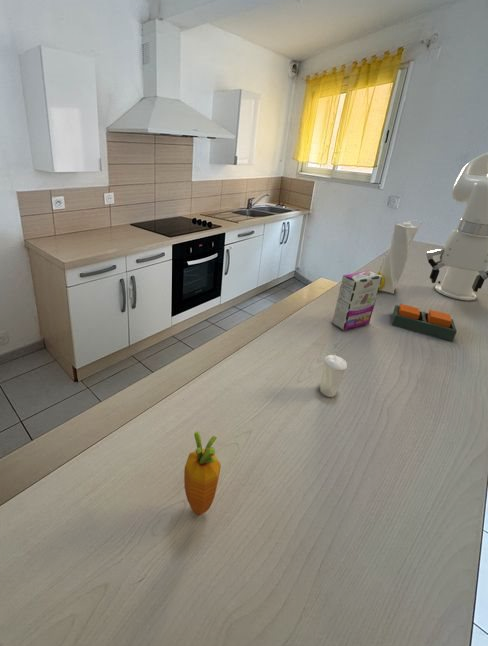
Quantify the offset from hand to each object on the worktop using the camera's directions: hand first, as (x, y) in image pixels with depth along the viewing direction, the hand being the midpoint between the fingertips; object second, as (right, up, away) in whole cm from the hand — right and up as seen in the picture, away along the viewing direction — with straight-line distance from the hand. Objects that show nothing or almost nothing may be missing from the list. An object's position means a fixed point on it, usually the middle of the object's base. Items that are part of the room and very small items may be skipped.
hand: (453, 285), depth 93 cm
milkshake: (-45, -23, -20) cm, 55 cm away
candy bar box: (-26, -12, +7) cm, 30 cm away
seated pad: (-8, -12, +9) cm, 17 cm away
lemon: (-6, -4, +29) cm, 30 cm away
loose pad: (-1, -13, +5) cm, 14 cm away
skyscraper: (0, -3, +32) cm, 32 cm away
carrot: (-75, -32, -45) cm, 93 cm away
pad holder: (-4, -13, +7) cm, 16 cm away
